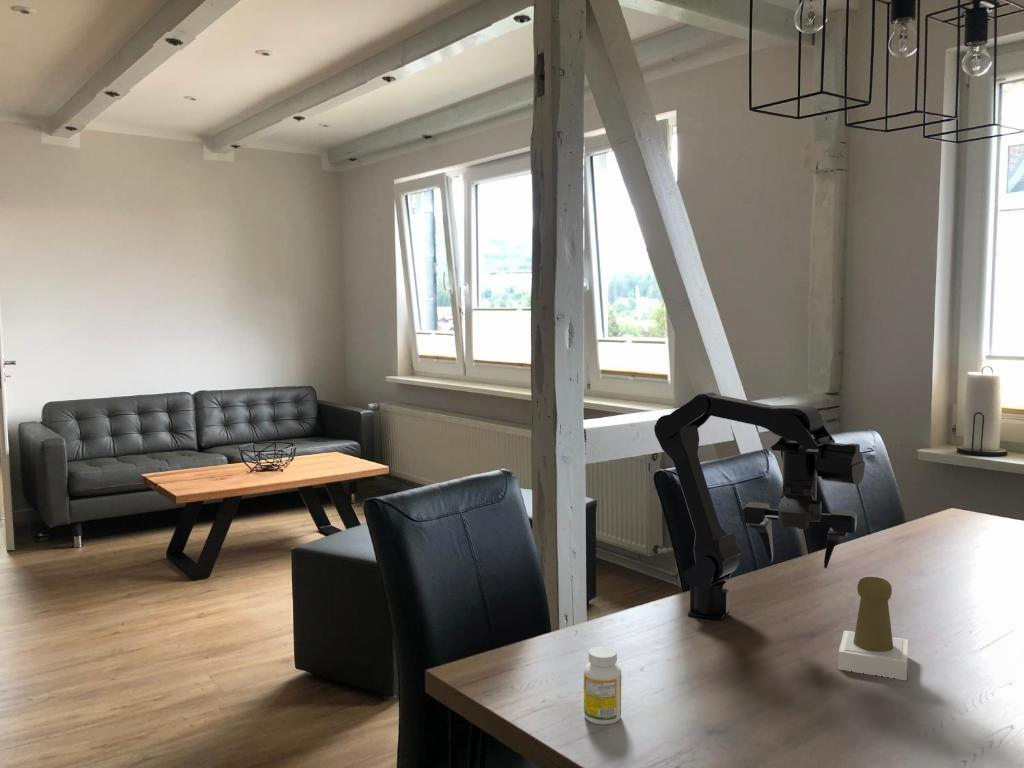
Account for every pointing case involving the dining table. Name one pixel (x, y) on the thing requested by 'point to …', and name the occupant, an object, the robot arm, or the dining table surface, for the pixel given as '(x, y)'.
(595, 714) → the supplement bottle
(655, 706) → the dining table surface
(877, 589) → the cork
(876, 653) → the tray
